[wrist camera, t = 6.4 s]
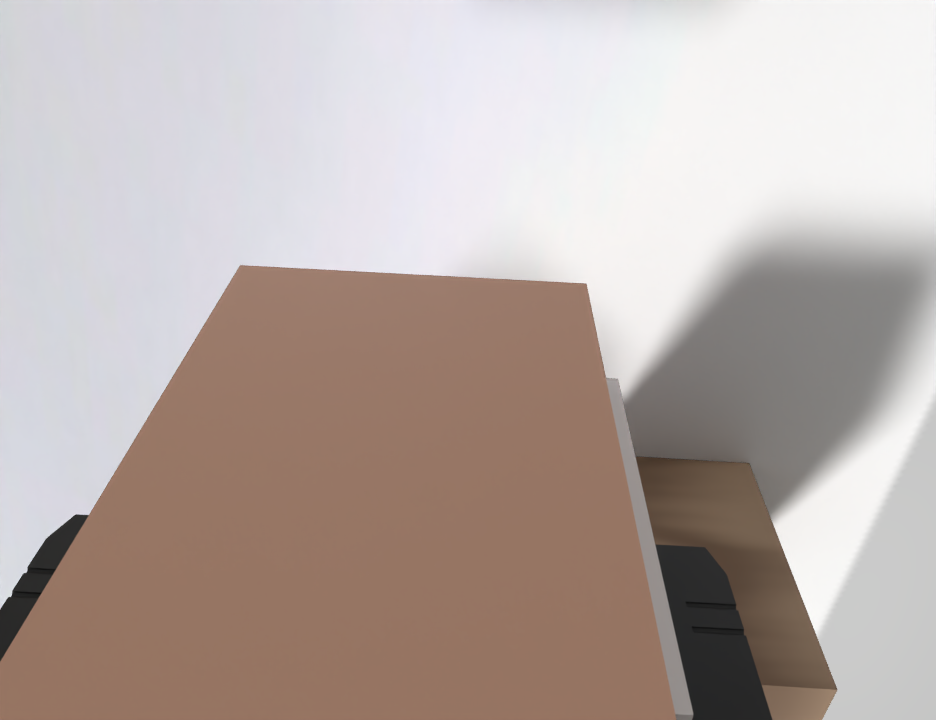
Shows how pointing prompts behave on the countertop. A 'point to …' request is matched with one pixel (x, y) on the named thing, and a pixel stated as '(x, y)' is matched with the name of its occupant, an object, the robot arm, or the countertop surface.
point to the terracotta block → (360, 521)
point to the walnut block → (744, 572)
